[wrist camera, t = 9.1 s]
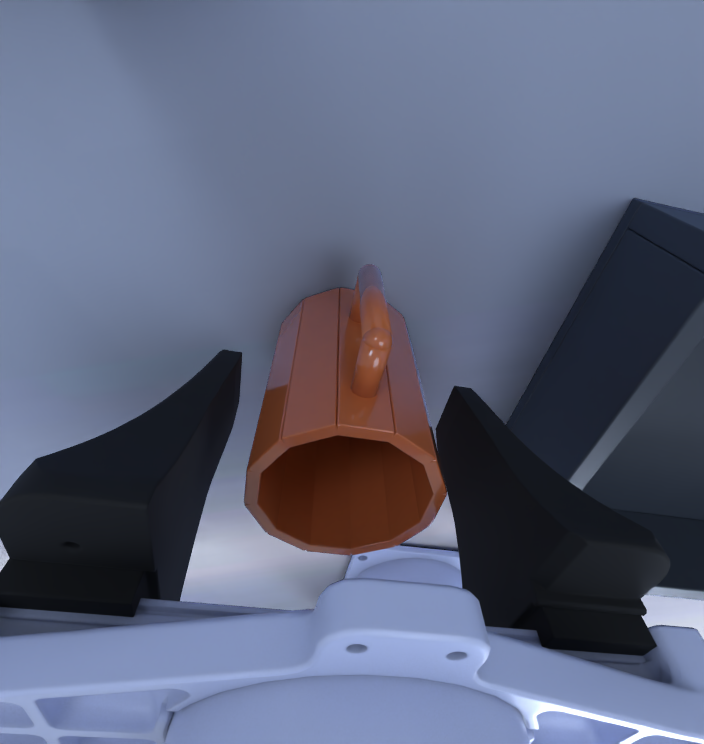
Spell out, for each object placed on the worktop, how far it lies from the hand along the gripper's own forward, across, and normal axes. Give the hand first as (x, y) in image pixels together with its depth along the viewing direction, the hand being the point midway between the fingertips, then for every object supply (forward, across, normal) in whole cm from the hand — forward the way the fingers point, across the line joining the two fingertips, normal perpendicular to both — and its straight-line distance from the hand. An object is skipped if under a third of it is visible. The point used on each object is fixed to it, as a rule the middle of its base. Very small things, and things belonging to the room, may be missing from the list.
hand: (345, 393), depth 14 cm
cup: (+3, 0, 0) cm, 3 cm away
